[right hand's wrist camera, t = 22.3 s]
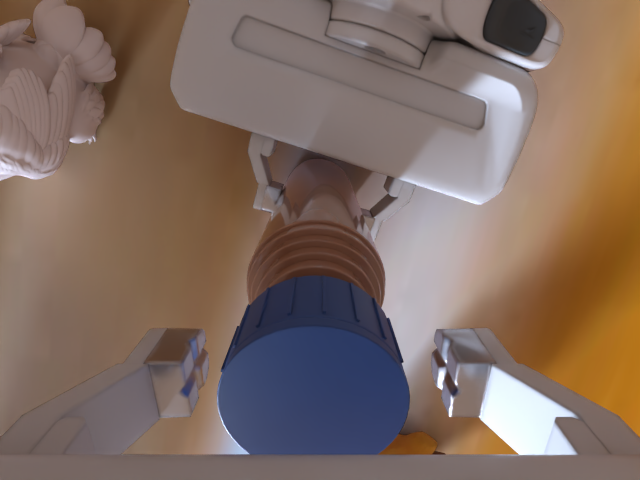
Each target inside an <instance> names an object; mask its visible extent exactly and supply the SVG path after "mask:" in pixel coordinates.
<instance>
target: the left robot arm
mask: <svg viewBox="0 0 640 480" xmlns="http://www.w3.org/2000/svg"><path fill="white" fill-rule="evenodd" d="M188 3H189V6H190V7H189V10H188V13H187V16H186V19H185V22H184V25H183V29H182V32H181V36H180V39H179V43H178V47H177V51H176V55H175V59H174V64H173V69H172V73H171V79H170V88H171V91H172V93H173V95H174V97H175V99H176V101H177V103H178V105H179V107H180V108H181V109H183V110H185V111H188V112H191V113H194V114H197V115H200V116H203V117H206V118H210V119H213V120H216V121H219V122H222V123H225V124H228V125H231V126H235V127H238V128H241V129H244V130H247V131H250V132H252V134H251V138H250V143H249V147H248V154H249V158H250V161H251V164H252V167H253V171H254V174H255V177H256V181H257V182H258V183H259V185H258V188H257V192H256V196H255V200H254V204H253V208H255V209H258V210H262V211H266V212H269V213H272V212H273V210H274V208H275V206H276V203H277V201H278V199H279V197H280V195H281V192H282V190H283V186H284V184H281V183H278V182H275V181H272V180H273V179H272V176H271V172H270V168H269V164H268V160H267V157H269V156H271V155H272V154H273V153H274V152H275V149H276V145H277V141H281V142H284V143H287V144H291V145H294V146H297V147H300V148H303V149H306V150H309V151H312V152H316V153H319V154H322V155H325V156H328V157H331V158H334V159H337V160H340V161H344V162H347V163H350V164H353V165H356V166H359V167H362V168H365V169H368V170H372V171H375V172H378V173H381V174H384V175H387V179H386V182H385V184H384V188H385V189H386V191H387V192H388V194H387V195H386V196H385V197H384V198H383V199H381V200H380V201H379V202H378V203H377V204H376V205H375V206H374V207H372V208H371V209H370V210H366V209H363V208H361V211H362V213H363V216H364V218H365V221H366V223H367V226H368V228H369V231H370V233H371V236H372V238H373V241H375V239H376V236H377V234H378V231H379V229H380V226H381V224H382V221H385V220H387V219H388V218H389V217H391V216H392V215H393V214H394V213H396V212H397V211H398V210H399V209H401V208H402V207H403V206H405V205H406V204H407V203H408V202H409V201H410V198H411V196H412V194H413V191H414V189H415V187H416V185H418V186H421V187H425V188H428V189H431V190H434V191H437V192H440V193H443V194H446V195H449V196H453V197H456V198H459V199H462V200H465V201H468V202H471V203H475V204H479V205H480V204H483V203H485V202H487V201H489V200H490V199H492V198H493V197H495V196H496V195H498V194H499V193H500V192H501V191H502V189H503V188H504V186H505V185H506V183H507V181H508V179H509V177H510V175H511V173H512V171H513V169H514V167H515V165H516V162H517V160H518V158H519V156H520V153H521V151H522V149H523V146H524V144H525V141H526V139H527V136H528V134H529V131H530V129H531V126H532V123H533V120H534V117H535V114H536V110H537V104H538V90H537V86H536V83H535V81H534V80H533V78H532V77H531V75H530V74H529V73H528V72H530V71H534V70H537V69H540V68H543V67H545V66H547V65H548V64H549V63H550V62H551V61H552V60H553V58H554V57H555V55H556V53H557V52H558V50H559V48H560V46H561V43H562V41H563V37H564V28H563V26H562V24H561V22H560V21H559V20H558V19H557V18H556V16H555V15H554V14H553V13H552V12H551V11H550V10H548V9H547V8H546V7H545V6H544V5H543V4H542V3H541V2H540V1H539V0H188Z"/></svg>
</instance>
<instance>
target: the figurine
mask: <svg viewBox="0 0 640 480" xmlns="http://www.w3.org/2000/svg"><path fill="white" fill-rule="evenodd" d="M30 23H31V20H30V19H19V20H16V21H11V22H8V23H5V24H3V25H1V26H0V180H4V179H7V178H9V177H12V176H14V175H21V176H24V177H28V178H31V179H40V178H44V177H47V176H50V175H52V174H54V173H55V171H56V170H57V169H58V168H59V167H60V165H61V164H62V162H63V159H64V157H65V155H66V153H67V150H68V147H69V141H71V142H73V143H82V142H85V141H87V140H88V141H89V144H90V143H91V142H92V137H93V139H94V141H95V140H97V137H96V130H97V126H98V125H99V124H101V123H102V122H101V119H102V118H103V117H104V112H103V110H104V108H105V101H104V100H103V96H102V94H100V92H99V91H98V90H97V88H96V87H95V86H94V82H98V83H100V82H108V81H111V80H113V79H114V78H115V77H116V71H115V70H114V68H115V64H116V61H115V58H114V57H113V56H112V55H111V47H110V45H109V44H108V43H107V42H106V41H104V37H103V34H102V32H101V31H100V30H98V29H96V28H92V27H85V19H84V15H83V13H82V11H81V10H80V9H79V8H77V7H74V6H67V4H66V1H65V0H42V1H41V2H40V3H39V4H38V5H37V6H36V8H35V10H34V13H33V28H34V32H35V35H36V38H37V39H36V38H31V36H29V35H25V34H24V33H23V32H24V31H25V30H26V29H27V28H28V27H29V25H30Z"/></svg>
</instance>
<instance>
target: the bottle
mask: <svg viewBox="0 0 640 480" xmlns="http://www.w3.org/2000/svg"><path fill="white" fill-rule="evenodd" d="M322 275H324V276H327V277H333V278H337V279H340V280H343V281H346V282H349V283H353V284H354V285H355V286H357V287H359V288H360V289H362V290H363V291H365V292H366V293H367V294H369V295H370V296H371V297H372V298H375V299H376V301H377V303H378V304H379V306H380V307H382V304H383V300H384V295H385V271H384V267H383V264H382V261H381V259H380V256H379V254H378V251H377V248H376V246H375V243H374V241H373V238H372V236H371V233H370V231H369V228H368V226H367V223H366V221H365V218H364V216H363V213H362V211H361V208H360V206H359V203H358V201H357V198H356V196H355V193H354V191H353V188H352V186H351V183H350V181H349V178H348V176H347V175H346V173H345V172H344V170H343V169H342V168H341V167H340V166H338V165H337V164H336V163H334V162H332V161H329V160H326V159H310V160H307V161H305V162H303V163H301V164H299V165H298V166H297V167H295V168H294V170H293V171H292V172H291V173H290V175H289V177H288V179H287V181H286V183H285V186H284V188H283V190H282V192H281V195H280V197H279V199H278V201H277V203H276V206H275V208H274V210H273V212H272V214H271V217H270V219H269V221H268V223H267V225H266V228H265V230H264V232H263V234H262V237H261V239H260V241H259V243H258V245H257V248H256V250H255V252H254V254H253V256H252V259H251V261H250V264H249V268H248V273H247V294H248V300H249V304H250V305H251V303H252V302H253V301H254V300H255V299H256V298H257V297H258V296H259V295H260V294H262V293H263V292H264V291H266V288H268V287H269V288H270V287H272V286H274V285H276V284H278V283H280V282H283V281H285V280H289V279H292V278H293V277H302V276H322Z"/></svg>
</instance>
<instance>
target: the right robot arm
mask: <svg viewBox="0 0 640 480" xmlns="http://www.w3.org/2000/svg"><path fill="white" fill-rule="evenodd" d="M205 342H206V337H205V331H204V330H203V329H190V328H152V329H150V330H149V331H148V332H147V333H146V334H145V336H144V337H143V338H142V340H141V341H140V342H139V343H138V345H137V346H136V347H135V349H134V350H133V351H132V352H131V354H130V355H129V356H128V358H127V359H126V360H125V361H124V363H123V364H116V365H114V366H112V367H110V368H109V369H107V370H105V371H103V372H101V373H99V374H98V375H96V376H94V377H92V378H90V379H88V380H86V381H85V382H83V383H81V384H79V385H77V386H75V387H74V388H72V389H70V390H68V391H66V392H64V393H62V394H61V395H59V396H57V397H55V398H53V399H51V400H50V401H48V402H46V403H44V404H42V405H40V406H38V407H37V408H35V409H33V410H31V411H29V412H27V413H26V414H24V415H22V416H21V417H20V418H19V419H18V420H17V421H16V422H15V423H14V424H13V425H12V426H11V427H10V428H9V429H8V430H7V431H6V432H5V434H4V435H3V436H2V437H1V438H0V480H640V438H639V437H638V435H637V434H636V433H635V432H634V431H633V430H632V429H631V428H630V427H629V426H628V425H627V424H626V423H625V422H624V421H623V420H622V419H621V418H620V417H619V416H618V415H616V414H614V413H612V412H611V411H609V410H607V409H605V408H603V407H601V406H599V405H598V404H596V403H594V402H592V401H590V400H588V399H587V398H585V397H583V396H581V395H579V394H577V393H576V392H574V391H572V390H570V389H568V388H566V387H564V386H563V385H561V384H559V383H557V382H555V381H553V380H552V379H550V378H548V377H546V376H544V375H542V374H541V373H539V372H537V371H535V370H533V369H531V368H530V367H528V366H526V365H524V364H517V363H516V361H515V360H514V359H513V358H512V356H511V355H510V354H509V352H508V351H507V350H506V349H505V347H504V346H503V345H502V344H501V342H500V341H499V340H498V338H497V337H496V336H495V335H494V333H493V332H492V331H491V330H490V329H488V328H470V329H437V330H436V332H435V336H434V342H435V344H436V346H437V348H436V350H435V351H434V352H433V353H432V358H431V368H432V375H433V379H434V381H435V384H436V386H437V387H439V388H440V389H441V390H442V395H441V398H442V401H443V403H444V405H445V408H446V410H447V413H448V415H449V417H478V418H480V419H481V420H482V421H483V422H484V423H485V424H486V425H487V426H489V427H490V428H491V429H492V430H493V431H494V432H495V433H496V434H497V435H498V436H500V437H501V438H502V439H503V440H504V441H505V442H506V443H507V444H508V445H510V446H511V447H512V448H513V449H514V450H515V451H516V452H517V453H518V454H520V455H296V454H247V455H121V454H122V453H123V452H124V451H125V450H126V449H127V448H128V447H129V446H131V445H132V444H133V443H134V442H135V441H136V440H137V439H138V438H139V437H141V436H142V435H143V434H144V433H145V432H146V431H147V430H148V429H149V428H151V427H152V426H153V425H154V424H155V423H156V422H157V421H158V420H159V419H160V418H162V417H191V415H192V413H193V410H194V408H195V406H196V403H197V401H198V398H199V395H198V390H199V389H200V388H201V387H203V386H204V384H205V381H206V379H207V375H208V369H209V358H208V353H207V352H206V351H205V350H204V349H203V346H204V344H205Z"/></svg>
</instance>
